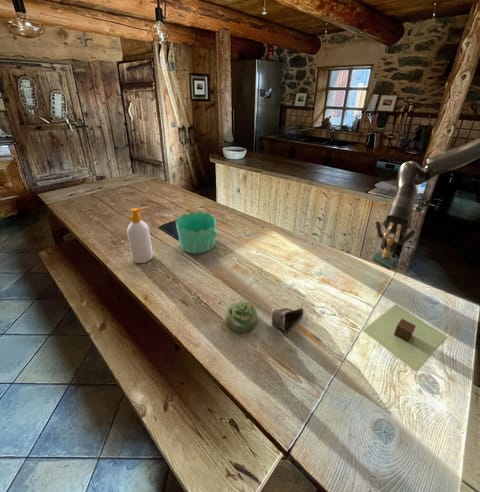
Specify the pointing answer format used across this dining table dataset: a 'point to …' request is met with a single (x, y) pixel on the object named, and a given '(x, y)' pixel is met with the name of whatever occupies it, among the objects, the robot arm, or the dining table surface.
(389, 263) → the brush
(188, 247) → the basket
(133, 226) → the soap bottle
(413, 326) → the brown cube
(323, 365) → the dining table surface
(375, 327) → the mat
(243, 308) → the decorative artifact
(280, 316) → the dark flower pot
